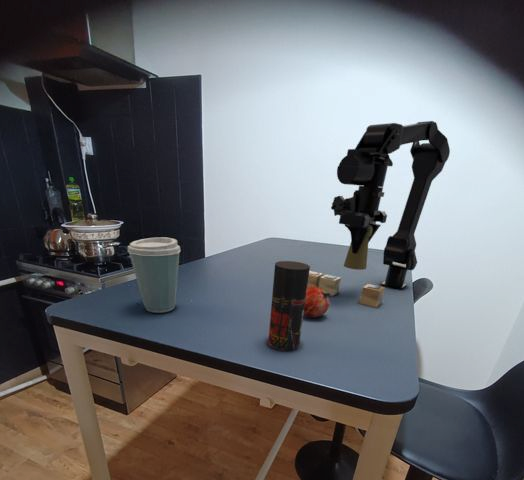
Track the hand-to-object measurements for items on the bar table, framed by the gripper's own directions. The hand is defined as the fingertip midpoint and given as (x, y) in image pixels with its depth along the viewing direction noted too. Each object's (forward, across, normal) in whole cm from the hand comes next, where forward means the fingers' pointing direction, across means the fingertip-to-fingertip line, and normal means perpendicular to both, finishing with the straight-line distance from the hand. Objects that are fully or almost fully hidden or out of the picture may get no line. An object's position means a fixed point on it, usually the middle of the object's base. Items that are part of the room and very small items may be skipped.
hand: (357, 252), depth 84 cm
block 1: (+12, +1, -11) cm, 17 cm away
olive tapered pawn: (+4, 0, 0) cm, 4 cm away
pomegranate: (+12, +21, -1) cm, 25 cm away
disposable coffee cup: (+12, +42, -29) cm, 53 cm away
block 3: (+12, +1, +7) cm, 14 cm away
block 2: (+12, +1, -6) cm, 14 cm away
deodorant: (+12, +38, +2) cm, 40 cm away
